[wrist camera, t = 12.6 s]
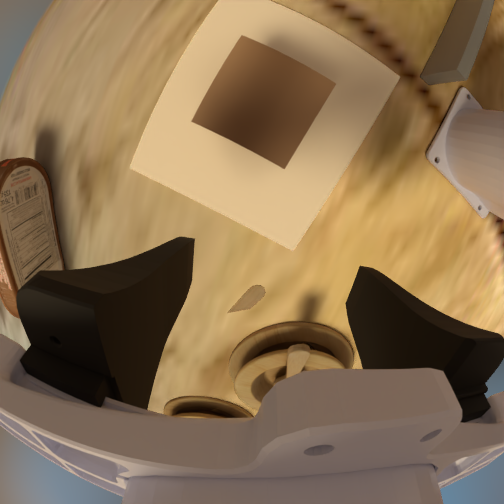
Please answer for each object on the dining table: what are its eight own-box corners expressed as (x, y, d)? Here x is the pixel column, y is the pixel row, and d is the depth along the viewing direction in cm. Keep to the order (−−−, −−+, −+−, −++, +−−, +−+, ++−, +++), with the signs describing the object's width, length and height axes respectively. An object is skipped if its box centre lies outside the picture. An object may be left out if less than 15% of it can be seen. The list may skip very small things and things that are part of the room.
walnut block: (314, 96, 16) (336, 83, 11) (278, 156, 18) (284, 169, 13) (249, 62, 15) (241, 35, 10) (213, 123, 17) (191, 121, 12)
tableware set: (258, 273, 23) (255, 318, 18) (388, 361, 28) (402, 400, 22) (135, 402, 34) (123, 433, 29) (240, 447, 39) (237, 476, 33)
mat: (398, 77, 15) (400, 77, 15) (292, 249, 21) (293, 251, 21) (229, -12, 13) (229, -14, 12) (131, 167, 19) (129, 168, 19)
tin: (32, 151, 18) (-33, 173, 11) (53, 147, 18) (-16, 168, 11) (57, 288, 25) (14, 334, 17) (77, 292, 25) (34, 343, 17)
